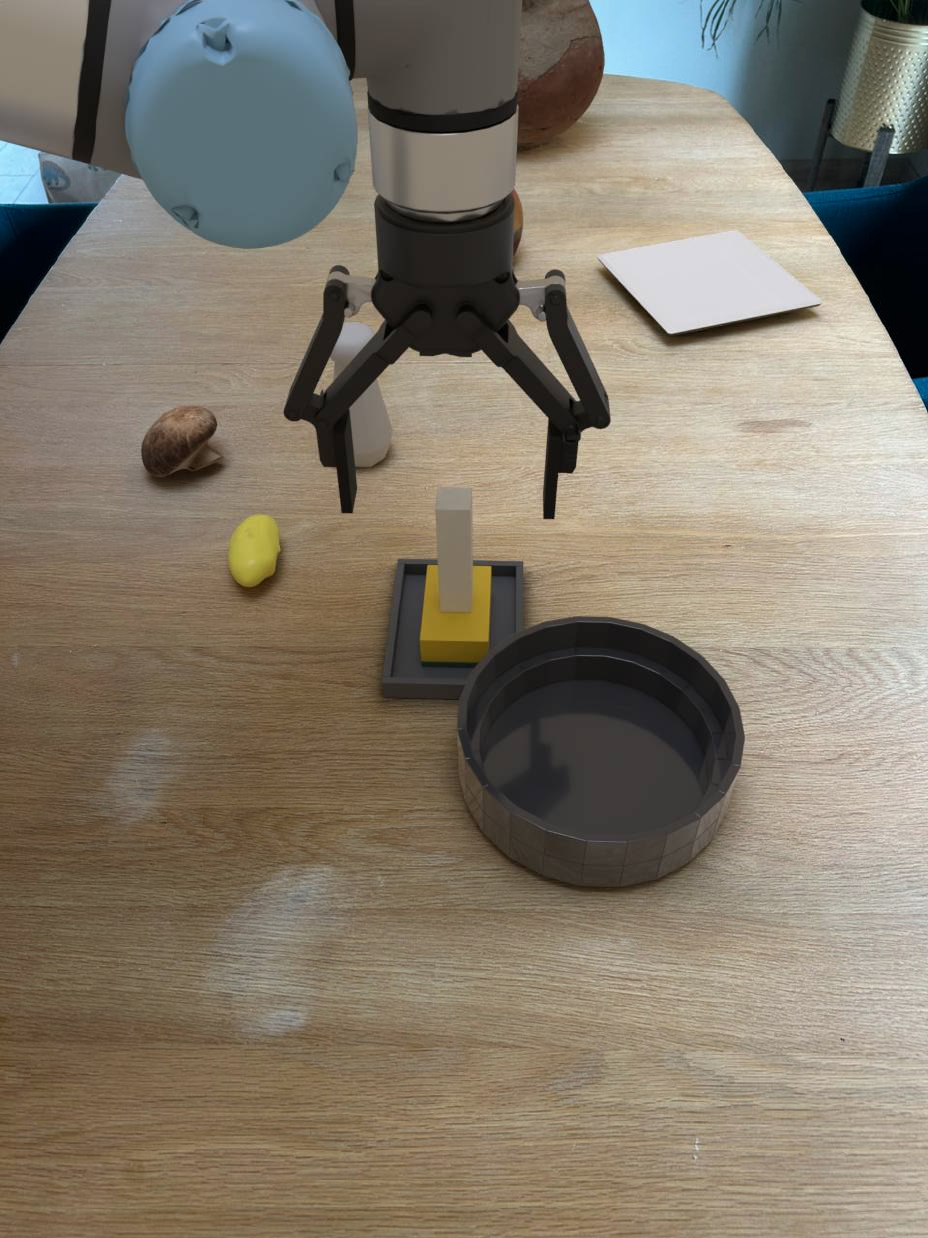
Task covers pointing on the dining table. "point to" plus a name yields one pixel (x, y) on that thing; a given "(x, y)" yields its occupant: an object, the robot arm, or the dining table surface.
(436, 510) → the sponge brush
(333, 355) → the salt shaker
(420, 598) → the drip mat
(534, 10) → the jug
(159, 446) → the mushroom
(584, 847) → the bowl
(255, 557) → the yellow potato
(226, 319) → the dining table surface
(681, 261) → the plate
